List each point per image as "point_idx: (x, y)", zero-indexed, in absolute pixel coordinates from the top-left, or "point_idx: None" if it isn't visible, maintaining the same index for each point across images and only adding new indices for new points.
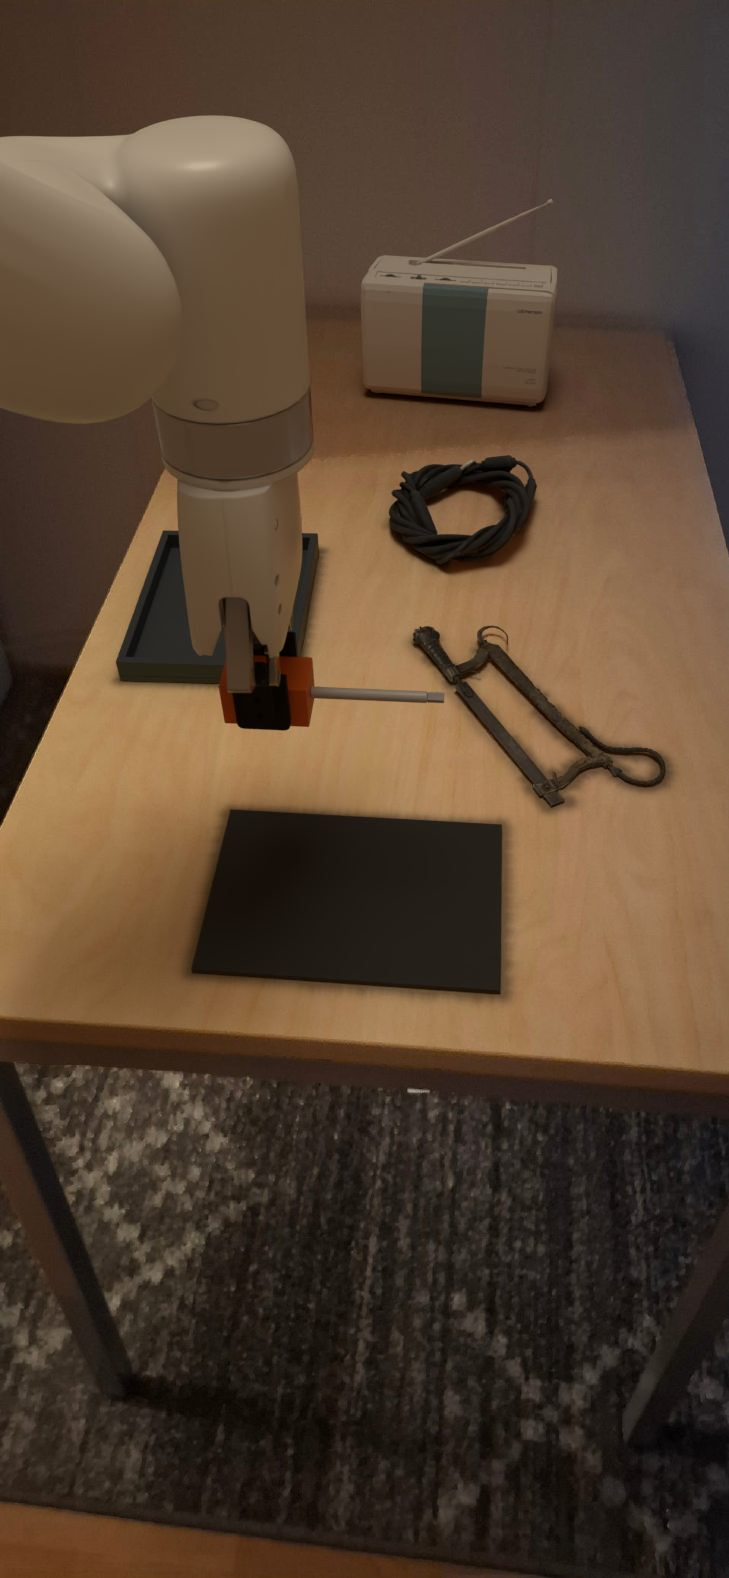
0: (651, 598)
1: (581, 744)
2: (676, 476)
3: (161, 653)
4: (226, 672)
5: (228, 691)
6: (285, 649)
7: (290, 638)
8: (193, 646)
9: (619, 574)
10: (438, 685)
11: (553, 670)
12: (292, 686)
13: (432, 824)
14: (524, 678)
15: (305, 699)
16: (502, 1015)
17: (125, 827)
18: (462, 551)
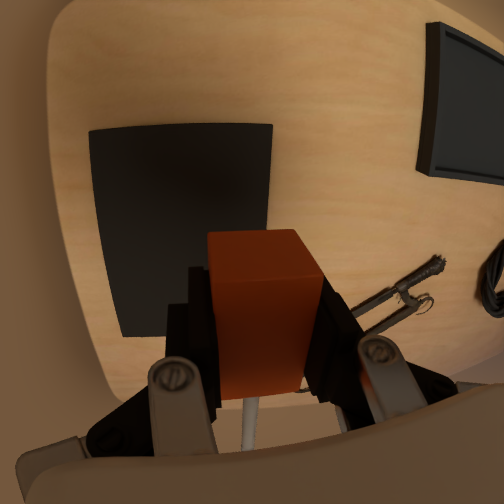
0: (424, 365)
1: None
2: (485, 355)
3: (452, 59)
4: (23, 497)
5: (19, 459)
6: (309, 377)
7: (319, 398)
8: (32, 496)
9: (444, 350)
10: (396, 275)
11: (390, 336)
12: (226, 386)
13: None
14: (385, 328)
15: None
16: (110, 335)
17: (250, 29)
18: (487, 284)
